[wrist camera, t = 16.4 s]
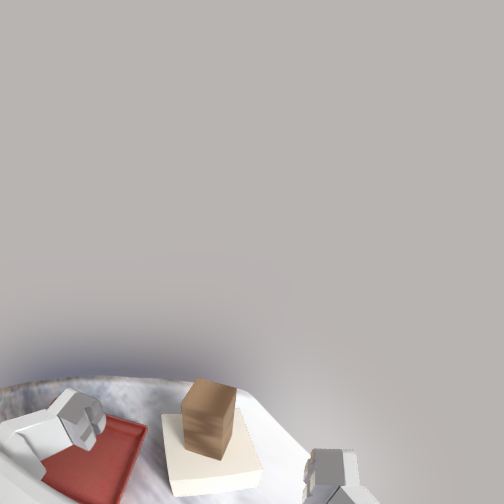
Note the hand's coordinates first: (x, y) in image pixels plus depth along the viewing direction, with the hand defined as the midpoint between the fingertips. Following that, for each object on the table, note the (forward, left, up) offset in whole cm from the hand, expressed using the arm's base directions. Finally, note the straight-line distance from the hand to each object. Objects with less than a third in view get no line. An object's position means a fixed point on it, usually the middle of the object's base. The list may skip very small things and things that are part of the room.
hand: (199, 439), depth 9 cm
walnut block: (-4, +18, -26) cm, 32 cm away
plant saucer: (-22, +10, -33) cm, 41 cm away
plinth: (-4, +18, -32) cm, 37 cm away
